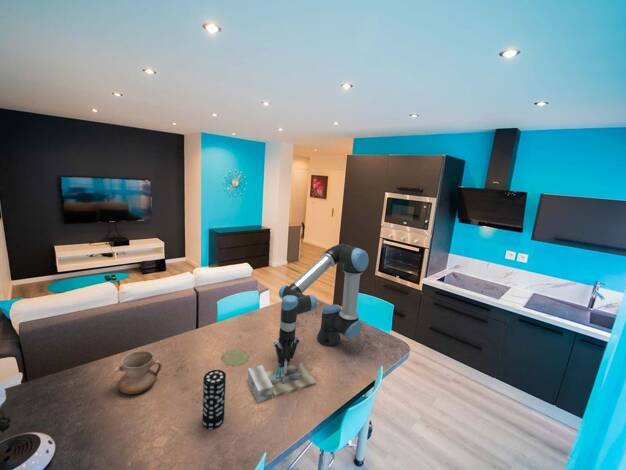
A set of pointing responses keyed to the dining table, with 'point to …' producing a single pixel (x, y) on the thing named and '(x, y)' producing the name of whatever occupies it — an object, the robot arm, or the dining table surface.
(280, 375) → the bolt
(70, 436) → the dining table surface
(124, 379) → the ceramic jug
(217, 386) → the white-spotted black cylinder
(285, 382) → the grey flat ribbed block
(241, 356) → the sand dollar
